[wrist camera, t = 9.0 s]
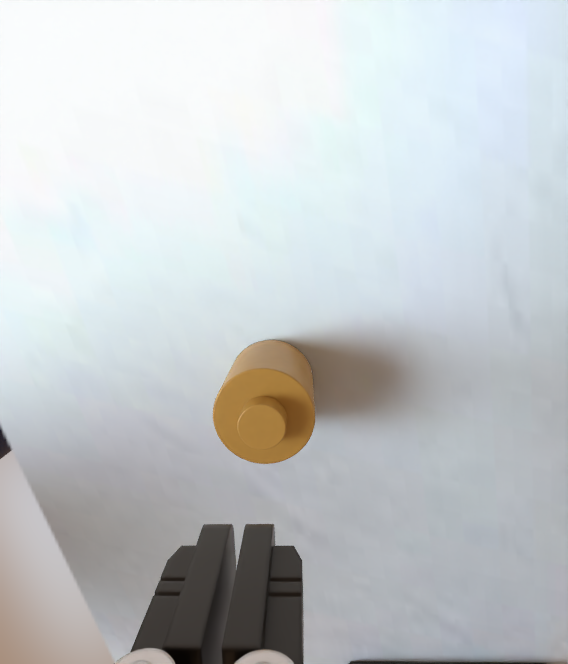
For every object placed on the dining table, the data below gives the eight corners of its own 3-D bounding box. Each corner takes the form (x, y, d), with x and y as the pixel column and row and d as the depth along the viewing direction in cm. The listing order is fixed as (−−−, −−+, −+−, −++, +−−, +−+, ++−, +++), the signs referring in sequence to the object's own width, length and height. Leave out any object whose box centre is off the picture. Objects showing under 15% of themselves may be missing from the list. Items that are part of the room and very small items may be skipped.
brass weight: (233, 418, 25) (211, 477, 19) (227, 340, 24) (203, 377, 18) (313, 417, 25) (317, 476, 19) (311, 338, 24) (314, 374, 18)
